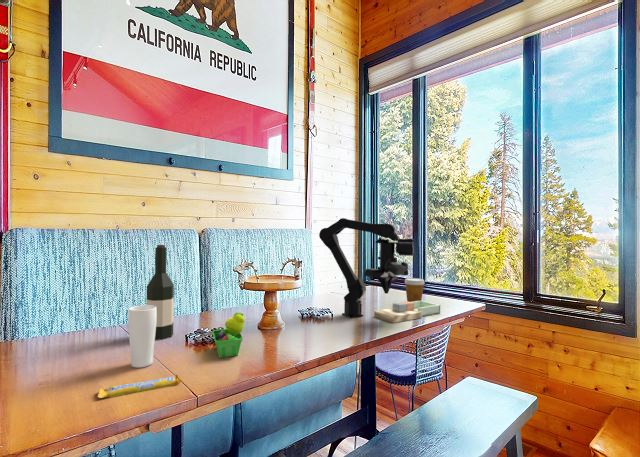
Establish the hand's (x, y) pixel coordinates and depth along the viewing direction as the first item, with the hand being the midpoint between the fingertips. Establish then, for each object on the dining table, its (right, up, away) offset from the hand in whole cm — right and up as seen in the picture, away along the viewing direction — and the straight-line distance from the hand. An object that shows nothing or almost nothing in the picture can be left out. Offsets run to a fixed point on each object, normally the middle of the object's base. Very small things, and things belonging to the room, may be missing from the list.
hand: (386, 293), depth 150 cm
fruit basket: (-53, -10, -41) cm, 68 cm away
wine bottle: (-79, -9, -28) cm, 85 cm away
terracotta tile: (+10, -8, +6) cm, 14 cm away
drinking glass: (-73, -10, -52) cm, 91 cm away
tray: (+17, -10, +12) cm, 23 cm away
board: (+5, -10, +3) cm, 12 cm away
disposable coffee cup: (+19, -11, +29) cm, 36 cm away
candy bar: (-67, -11, -66) cm, 95 cm away
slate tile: (+6, -8, +4) cm, 11 cm away
